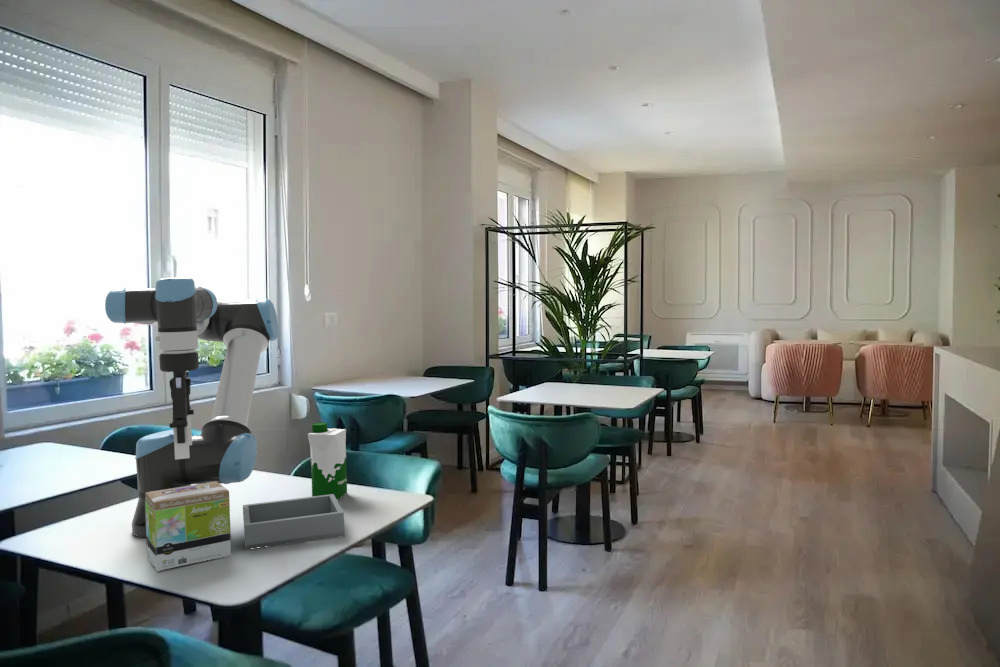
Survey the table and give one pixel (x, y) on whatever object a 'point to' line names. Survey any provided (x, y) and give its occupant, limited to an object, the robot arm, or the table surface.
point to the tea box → (187, 525)
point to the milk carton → (328, 460)
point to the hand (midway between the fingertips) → (184, 451)
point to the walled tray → (292, 521)
